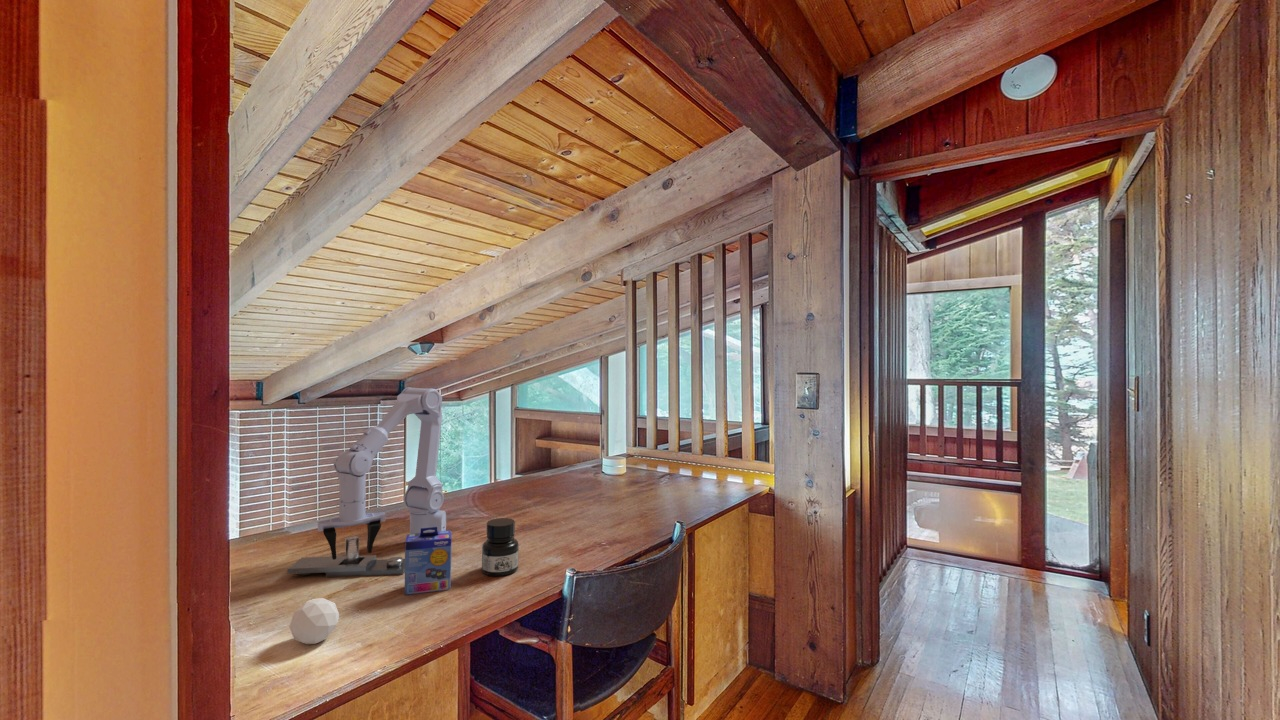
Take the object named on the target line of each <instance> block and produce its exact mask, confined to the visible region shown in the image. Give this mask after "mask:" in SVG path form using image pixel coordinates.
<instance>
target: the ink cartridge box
mask: <svg viewBox="0 0 1280 720" xmlns="http://www.w3.org/2000/svg"><path fill="white" fill-rule="evenodd" d="M426 530H435V531H433V532H423V531H426ZM452 540H453V539H452V530H446V531H438V530H437V527H429V528H421V532H420V533H416V534H410V533H409V534H406V539H405V542H404V543H405V544H404V547H405V549H404V559H405V572H404V596H409V595H416V594H423V593H424V594H425V593H433V592H442V591H450V589H451V586H452V585H451V584H452V583H451V582H452V581H451V580H452Z"/></svg>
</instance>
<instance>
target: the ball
mask: <svg viewBox="0 0 1280 720" xmlns="http://www.w3.org/2000/svg"><path fill="white" fill-rule="evenodd" d="M339 618H340V613H339V610H338V608H337V605H336V603H335V602H333V601H330V600H328V599H326V598H324V597H319V598H318V597H317V598H313V599H309V600H306V601H305V602H304V603H303V604H301V606H299V607H298V608H297V609H296V610H295V611H293V615H292V618H291V621H290V623H289V626H288V627H289V630H290V633H291V635H292V637H293V640H295V641H298V642H300V643H303V644H305V645H315V644H317V643H321V642H323V641H324V640H325V639H327V638H328V637H330V635H331V634H333V632H334V631H335V630H336V627H337V625H338V621H339Z"/></svg>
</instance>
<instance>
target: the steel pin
mask: <svg viewBox="0 0 1280 720" xmlns="http://www.w3.org/2000/svg"><path fill="white" fill-rule="evenodd" d="M344 540H345V541H344V556H345V565H353V564H359V556H360V536H356V535H354V536H348V537H346V538H345V539H344Z"/></svg>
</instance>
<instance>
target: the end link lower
mask: <svg viewBox="0 0 1280 720" xmlns="http://www.w3.org/2000/svg"><path fill="white" fill-rule="evenodd" d="M359 563H360V562H359ZM344 565H345V564H344ZM395 575H405V558H403V557H401V556H392V557H389V558H387V559H376V561H375V562H374V563H373V564H372V565H371V566H370V567H369V568H368V569H367V570H366V571H349V572H325V578H344V577H345V578H347V577H365V576H366V577H369V576H371V577H372V576H395Z"/></svg>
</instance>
